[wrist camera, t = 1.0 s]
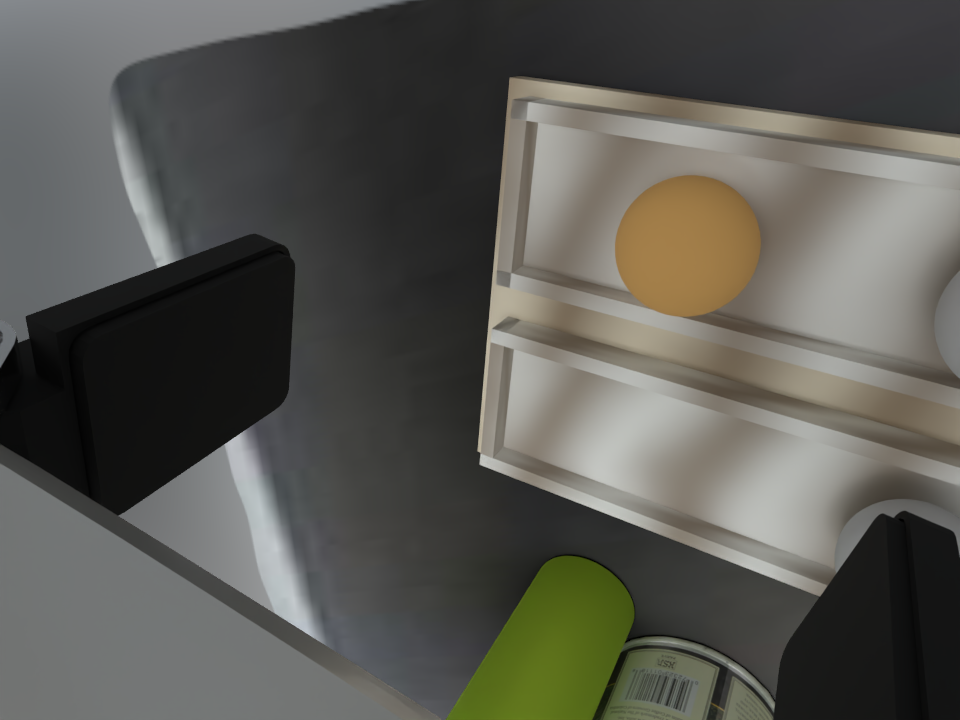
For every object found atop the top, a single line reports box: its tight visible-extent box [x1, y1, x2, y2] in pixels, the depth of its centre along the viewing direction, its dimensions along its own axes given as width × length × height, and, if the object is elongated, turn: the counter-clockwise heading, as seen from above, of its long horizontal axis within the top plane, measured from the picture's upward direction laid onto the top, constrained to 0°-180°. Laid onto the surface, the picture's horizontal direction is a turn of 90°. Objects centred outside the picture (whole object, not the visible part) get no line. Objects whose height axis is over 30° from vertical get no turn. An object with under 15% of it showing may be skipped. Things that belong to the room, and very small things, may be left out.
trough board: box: [478, 76, 960, 596], centre depth 28 cm, size 24×19×3 cm
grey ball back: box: [834, 499, 960, 573], centre depth 25 cm, size 5×5×5 cm
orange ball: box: [615, 175, 761, 317], centre depth 25 cm, size 5×5×5 cm
